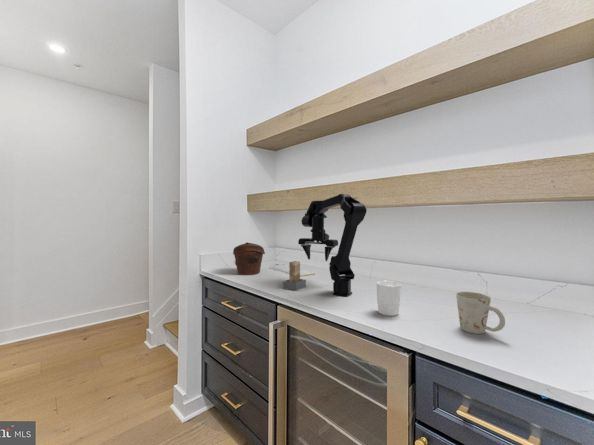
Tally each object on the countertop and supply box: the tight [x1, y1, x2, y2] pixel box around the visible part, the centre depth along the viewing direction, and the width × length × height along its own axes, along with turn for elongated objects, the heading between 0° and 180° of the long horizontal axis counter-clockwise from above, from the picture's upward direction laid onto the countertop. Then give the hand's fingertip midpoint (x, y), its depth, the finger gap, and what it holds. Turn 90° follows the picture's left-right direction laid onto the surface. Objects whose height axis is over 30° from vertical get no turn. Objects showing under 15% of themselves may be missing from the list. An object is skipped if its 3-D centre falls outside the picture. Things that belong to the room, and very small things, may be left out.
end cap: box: [282, 278, 307, 292], centre depth 127 cm, size 7×9×3 cm
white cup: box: [376, 280, 402, 317], centre depth 94 cm, size 8×8×10 cm
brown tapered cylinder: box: [232, 242, 265, 276], centre depth 161 cm, size 18×20×18 cm
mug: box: [455, 291, 506, 335], centre depth 78 cm, size 8×13×10 cm, turn 28°
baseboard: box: [269, 264, 316, 278], centre depth 166 cm, size 31×3×12 cm
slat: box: [288, 260, 301, 283], centre depth 127 cm, size 3×4×11 cm, turn 150°
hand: (317, 260), depth 132 cm, fingers open, 9 cm apart
